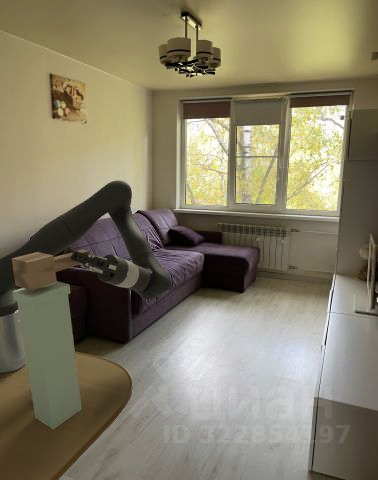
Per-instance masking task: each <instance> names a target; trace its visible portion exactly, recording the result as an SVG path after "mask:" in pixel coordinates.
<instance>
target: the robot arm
mask: <svg viewBox="0 0 378 480" xmlns="http://www.w3.org/2000/svg"><path fill="white" fill-rule="evenodd" d="M132 192H133V190H132V187H131V186H130V184H129V183H128V182H126V181H125V180H121V179H120V180H119V179H117V180H112V181H110V182H108V183H107V184H105V185H104V186H103V187H101V188H100V189H98V190H97V191H96V192H95V193H94V194H92V195H91V196H90V197H88V198H87V199H85V200H83V201H82V202H80V203H78V204H77V205H75V206H74V207H72V208H70V209H69V210H67V211H66V212H64V213H62V214H61V215H58V216H57V217H56V218H54V219H52V220H51V221H49V222H47V223H46V224H44V225H43V226H42V227H41V228H40V229H38V230H37V231H36V232H35V233H34V234H33V235H32V237H30V239H28V240H27V242H25V243H24V244H23V245H22V246H20V247H19V248H17V249H15V250H14V251H12V252H10V253H9V254H6V255H4V256H2V255H0V373H2V374H3V373H10V372H14V371H16V370H19V369H21V368H23V367H25V365H27V361H26V355H25V348H24V342H23V335H22V329H21V322H20V316H19V309H18V303H17V301H16V300H14V296H13V291H15V290H17V289H16V284H15V277H14V271H13V264H12V258H16V257H20V256H24V255H28V254H32V253H36V252H39V253H44V254H48V255H53V256H54V257H56V256H57V255H58V254H60V253H61V252H63V254H62V255H64V254H68V253H72V252H73V253H72V257H71V259H72V260H74V261H77V262H80V263H83V264H79V266H80V267H81V268H85V269H87V270H89V271H91V272H93V273H96V274H97V278H98V279H99V281H101V282H103V283H107V284H109V285H113V286H114V287H115V286H116V287H119V288H126V289H128V290H132V291H133V292H135V293H137V294H138V295H139V296H140V297H141V298H142V299H144V300H154V299H155V298H157V297H159V296H160V295H163V294H164V293H166V292H167V291H169V290H170V289H171V288H172V285H173V279H172V277H171V275H170V274H169V273H168V271H167V270H166V269H165V268H164V267H163V265H161V262H159V260H158V259H157V258H156V256H155V253H154V251H153V249H152V247H151V245H150V243H149V240H148V239H147V238H146V236H145V234H144V233H143V232H142V230H141V229H140V227H139V226H138V225H137V222H136V221H135V218H134V216H133V215H134V214H133V211H132V207H131V204H132V198H133V193H132ZM106 214H108V215H109V217H110V218H111V220H112V221H113V222H114V224H115V226H116V228H117V230H118V232H119V233H120V234H119V235H120V236H121V237H122V240H123V242H124V245H125V248H126V250H127V252H128V255H129V257H130V260H131V261H130V260H127V259H125V258H123V257H121V256H118V255H115V254H113V253H110V254H109V253H108V254H106V255H104V256H99V255H95V254H94V255H92V254H90V255H86V254H83V253H81V252H78V251H79V250H71V249H68V248H69V247H71V246H72V245H74V244H75V243H76V242H78V241H80V240H81V239H82V237H84V236H85V235H86V234H87V233H88V232H89V231H90V229H91V228H92V227H93V226H95V224H96V223H97V221H98V220H99V219H101V218H102V217H104V216H105V215H106ZM148 269H149V270H150V271H151V273H150V272H149V271H148Z"/></svg>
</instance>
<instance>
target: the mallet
mask: <svg viewBox="0 0 378 480" xmlns="http://www.w3.org/2000/svg"><path fill="white" fill-rule="evenodd" d="M77 251H78V252H81V253H83V254H86V255H91V250H88V249H78V250H77ZM72 253H73V252H72ZM72 253H68V254H64V255H63V254H61V255H56V256H53V255H48V254H44V253H39V252H36V253H32V254H28V255H24V256H20V257H16V258H12V264H13V271H14V277H15V287H16V286H17V287H18V288H25V289H28V290H31V291H32V290H35V289H38V288H41V287H43V286H46V285H49V284H52V283H55V282H57V281H58V280H57V272H60V271H63V270H67V269H69V268H72V267H77V266H78V265H79V264H83V263H80V262H77V261H74V260H72V259H71V257H72ZM79 266H80V265H79Z"/></svg>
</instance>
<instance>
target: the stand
mask: <svg viewBox="0 0 378 480" xmlns="http://www.w3.org/2000/svg"><path fill="white" fill-rule="evenodd" d="M70 286H71V285H70V284H69V283H65V282H61V281H58V280H57V282H55V283H52V284H49V285H46V286H43V287H41V288H38V289H35V290H32V291H31V290H28V289H25V288H22V287H20V288H19V289H16V290H15V291H13V296H14V300H16V301H17V303H18V309H19V316H20V322H21V329H22V335H23V342H24V348H25V355H26V361H27V363H26V367H27V373H28V381H29V386H30V392H31V398H32V406H33V411H34V417H35V419H36V420H37V421H39V422H41V423H42V424H44V425H45V426H47V427H48V428H50V429H51V430H55V429H56V428H57V427H59V426H60V425H61V424H63V423H64V422H66V421H67V420H69V419H70V418H72V417H73V416H74V415H76V414H77V413H79V412H81V411H82V410H83V409H82V401H81V399H82V398H81V393H80V391H81V390H80V384H79V375H78V367H77V358H76V349H75V343H74V342H75V341H74V335H73V326H72V317H71V308H70V302H69V295H70V294H71V287H70Z"/></svg>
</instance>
